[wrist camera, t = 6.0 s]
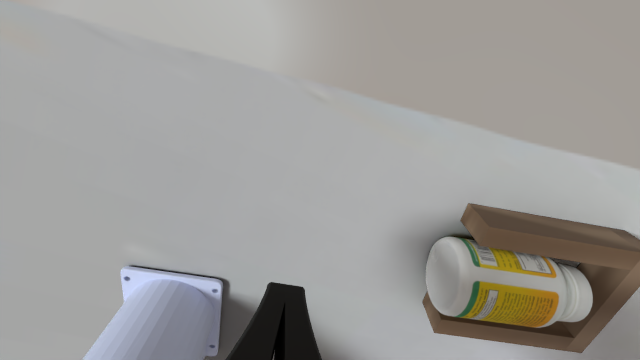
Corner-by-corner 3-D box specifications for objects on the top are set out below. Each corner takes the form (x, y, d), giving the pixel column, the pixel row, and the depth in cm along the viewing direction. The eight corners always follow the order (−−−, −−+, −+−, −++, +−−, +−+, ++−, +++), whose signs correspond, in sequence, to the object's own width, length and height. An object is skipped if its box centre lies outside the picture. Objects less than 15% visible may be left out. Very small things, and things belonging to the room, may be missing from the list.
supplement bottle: (459, 228, 20) (593, 248, 20) (423, 242, 25) (532, 258, 25) (464, 318, 18) (614, 337, 18) (424, 313, 23) (542, 328, 23)
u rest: (555, 321, 27) (581, 352, 24) (422, 301, 26) (434, 332, 23) (624, 230, 23) (665, 256, 20) (468, 203, 22) (489, 227, 19)
